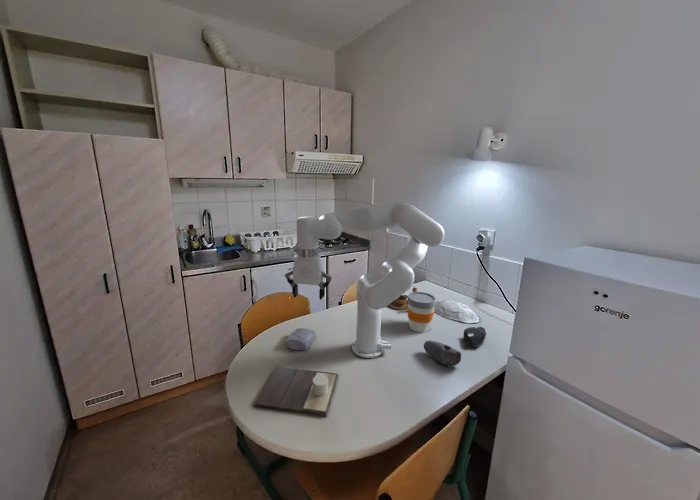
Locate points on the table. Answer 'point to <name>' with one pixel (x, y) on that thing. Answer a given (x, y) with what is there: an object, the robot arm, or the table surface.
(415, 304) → the reusable coffee cup
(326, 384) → the white short cylinder
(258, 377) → the table surface
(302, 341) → the block
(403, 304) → the place setting
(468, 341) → the mineral
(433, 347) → the perforated stone tool
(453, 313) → the white rough oval lump
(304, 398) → the board
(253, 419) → the table surface
